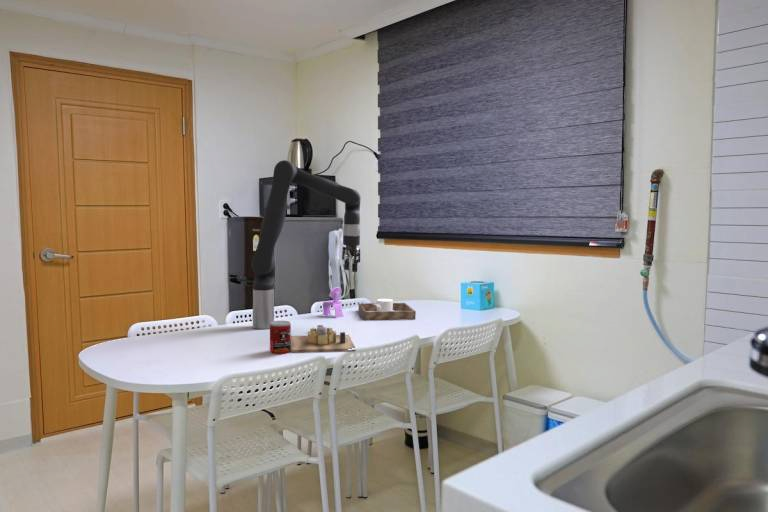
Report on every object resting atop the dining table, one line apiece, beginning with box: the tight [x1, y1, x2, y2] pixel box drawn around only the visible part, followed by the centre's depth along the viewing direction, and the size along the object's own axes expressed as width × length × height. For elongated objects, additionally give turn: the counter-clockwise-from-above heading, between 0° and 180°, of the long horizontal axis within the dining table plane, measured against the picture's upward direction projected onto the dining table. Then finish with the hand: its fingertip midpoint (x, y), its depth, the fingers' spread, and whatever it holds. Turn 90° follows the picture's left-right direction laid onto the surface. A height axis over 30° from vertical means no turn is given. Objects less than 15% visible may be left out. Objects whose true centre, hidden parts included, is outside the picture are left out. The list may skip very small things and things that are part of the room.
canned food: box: [269, 320, 292, 355], centre depth 215 cm, size 8×8×11 cm
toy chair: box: [322, 286, 344, 319], centre depth 288 cm, size 8×9×15 cm
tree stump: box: [374, 298, 394, 312], centre depth 294 cm, size 20×19×8 cm
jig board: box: [290, 326, 356, 354], centre depth 228 cm, size 24×24×6 cm
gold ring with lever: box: [307, 324, 337, 345], centre depth 231 cm, size 11×18×5 cm, turn 9°
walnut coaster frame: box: [358, 302, 417, 321], centre depth 294 cm, size 25×26×4 cm
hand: (350, 270), depth 258 cm, fingers open, 8 cm apart
